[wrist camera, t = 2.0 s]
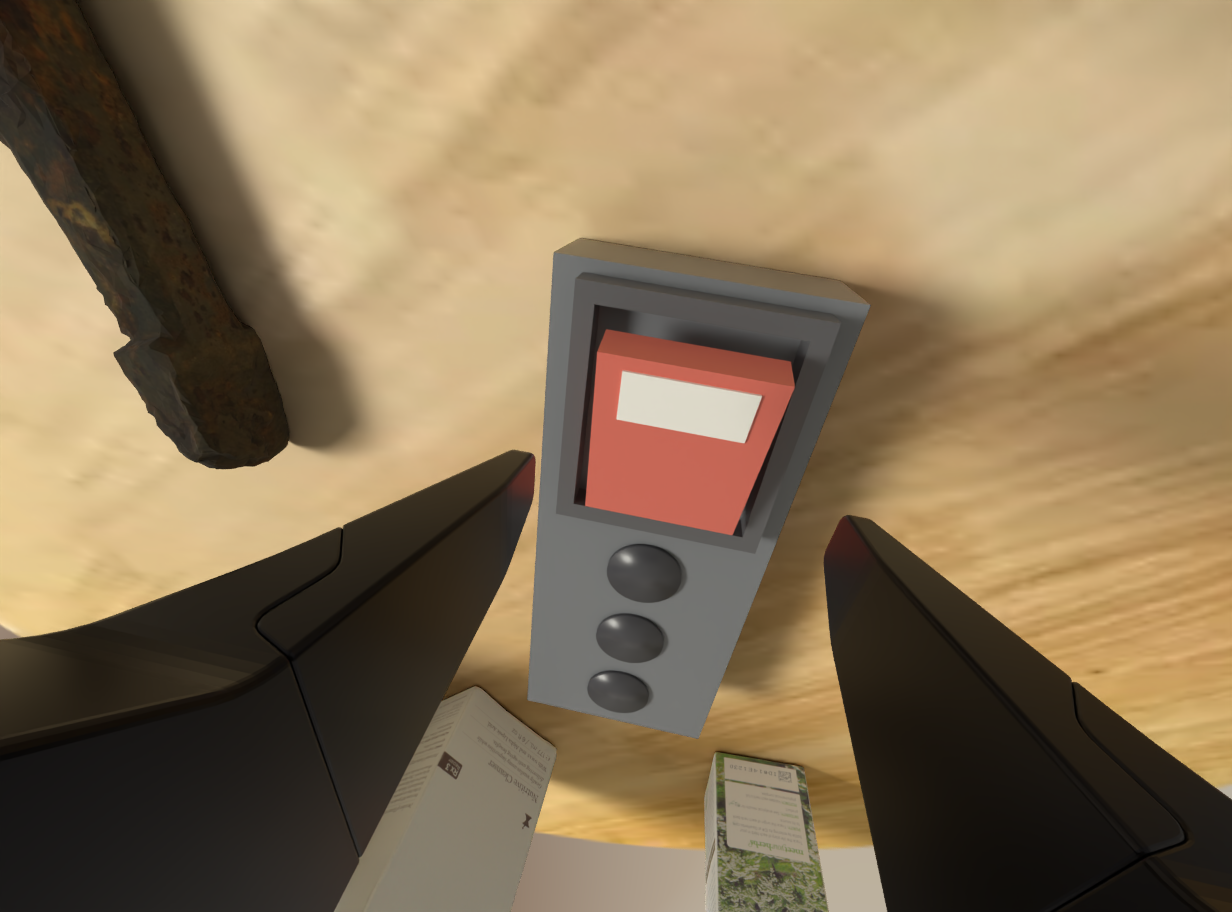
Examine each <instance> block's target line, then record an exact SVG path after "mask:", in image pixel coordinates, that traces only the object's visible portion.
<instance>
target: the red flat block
mask: <svg viewBox="0 0 1232 912" xmlns="http://www.w3.org/2000/svg"><path fill="white" fill-rule="evenodd" d="M794 388H795V384H794V378H793V372H792V366H791V362H790V361H785V360H779V359H773V358H767V357H762V356H756V355H750V354H745V353H739V352H733V351H728V350H722V349H716V348H711V347H705V346H699V345H693V344H688V343H682V342H676V341H671V340H665V339H659V338H654V337H648V336H642V335H636V334H631V333H625V332H619V331H614V330H608V329H606V331H605V334H604V336H603V339H602V341H601V344H600V346H599V349H598V351H597V362H596V374H595V387H594V400H593V413H592V425H591V438H590V451H589V464H588V476H587V489H586V502H585V506H588V507H593V508H598V509H603V510H608V511H613V512H618V513H623V514H628V515H633V516H638V517H643V518H648V519H653V520H658V521H663V522H668V523H673V524H678V525H683V526H688V527H693V528H698V529H703V530H708V531H713V532H718V533H723V534H728V535H733V533H734V530H735V528H736V526H737V523H738V521H739V518H740V516H741V514H742V511H743V509H744V507H745V504H746V502H747V500H748V497H749V495H750V492H751V490H752V488H753V485H754V483H755V481H756V478H757V476H758V473H759V471H760V469H761V466H762V464H763V462H764V459H765V457H766V455H767V452H768V450H769V447H770V445H771V443H772V440H773V438H774V436H775V433H776V431H777V428H778V426H779V424H780V421H781V419H782V417H783V414H784V412H785V410H786V407H787V405H788V402H789V400H790V398H791V395H792V393H793V391H794Z"/></svg>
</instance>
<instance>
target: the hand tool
mask: <svg viewBox="0 0 1232 912" xmlns="http://www.w3.org/2000/svg"><path fill="white" fill-rule="evenodd" d="M0 141H1V142H2V143H3V144H5V145H6V146H7V147H8V148H9V149H11V151H12V153H13V155H14V156H15V158H16V160H17V162H18V163H19V165H20V167H21V169H22V170H23V171H24V172H25V174H26V175H27V176H28V177H29V179H30V180H31V182H32V184H33V185H34V187H35V189H36V190H37V192H38V194H39V195H40V197H41V199H42V200H43V202H44V204H45V205H46V207H47V208H48V209H49V211H50V212H51V213H52V215H53V216H54V218H55V219H56V220H57V222H58V224H59V226H60V227H61V229H62V230H63V232H64V233H65V235H66V236H67V238H68V240H69V242H70V244H71V245H72V247H73V249H74V250H75V252H76V253H77V255H78V257H79V258H80V260H81V262H82V263H83V265H84V266H85V268H86V270H87V271H88V273H89V274H90V276H91V277H92V279H93V281H94V282H95V284H96V285H97V290H98V291H99V292H100V293H101V294H102V295H103V297H104V302H105V305H107V306H108V307H109V309H110V310H111V311H112V313H113V314H114V315H115V317H116V318H117V321H118V324H119V328H120V331H121V333H123V334H125V335H127V336H128V337H130V339H131V340H130V341H129V342H128V343H127V344H126V345H125V346H123V347H121V348H120V349H119V350H117V351H115V352H114V357H115V358H116V360H117V362H118V363H119V365H120V367H121V368H122V370H123V372H124V374H125V376H126V377H127V378H128V379H129V381H130V382H131V383H132V384H133V386H134V387H135V388H136V389H137V391H138V393H139V395H140V396H141V398H142V400H143V401H144V402H145V403H146V408H147V411H148V413H150V414H151V415H153V416H154V417H155V419H156V422H157V426H158V427H159V428H160V429H161V430H162V432H163V433H164V434H165V435H166V436H168V437H169V438H170V439H171V440H172V441H173V442H174V443H175V444H176V446H177V448H178V450H179V452H181V453H182V454H183V455H184V456H185V457H186V458H188V459H190V460H192V461H194V462H199V463H201V464H203V465H205V466H207V467H209V468H216V469H234V468H237V467H243V466H257V465H259V464H261V463H264V462H268V461H269V460H271V459H272V458H273V457H274V456H276V455H277V454H278V453H280V452H281V451H282V450H283V449H284V448H286V446H287V445H288V441H289V439H288V436H289V430H288V426H287V421H286V417H285V413H284V410H283V404H282V399H281V395H280V394H279V392H278V390H277V385H276V383H275V381H274V379H273V377H272V373H271V370H270V368H269V364H268V361H267V358H266V355H265V352H264V349H263V346H262V343H261V340H260V338H259V337H258V335H257V334H256V332H255V331H254V329H253V328H251V327H249V326H247V325H245V324H242V323H240V322H239V321H238V319H237V318H236V316H235V315H234V313H233V312H232V310H231V309H230V308H229V306H228V305H227V303H226V301H225V299H224V298H223V296H222V294H221V292H220V290H219V288H218V286H217V284H216V283H215V281H214V278H213V276H212V273H211V271H210V268H209V266H208V263H207V261H206V259H205V257H204V255H203V253H202V251H201V249H200V247H199V245H198V243H197V241H196V239H195V236H194V234H193V231H192V229H191V225H190V222H189V219H188V218H187V216H186V215H185V213H184V212H183V211H182V209H181V208H180V206H179V205H178V203H177V201H176V200H175V198H174V196H173V195H172V193H171V191H170V189H169V187H168V185H167V183H166V181H165V180H164V178H163V176H162V174H161V172H160V170H159V168H158V166H157V164H156V162H155V160H154V158H153V156H152V154H151V152H150V149H149V147H148V145H147V143H146V141H145V139H144V137H143V135H142V133H141V131H140V129H139V126H138V124H137V121H136V119H135V117H134V115H133V113H132V111H131V109H130V107H129V105H128V103H127V101H126V100H125V98H124V96H123V94H122V93H121V91H120V88H119V86H118V83H117V81H116V78H115V76H114V74H113V72H112V70H111V69H110V67H109V65H108V64H107V62H106V60H105V59H104V57H103V56H102V54H101V52H100V50H99V48H98V46H97V44H96V41H95V39H94V37H93V35H92V33H91V30H90V28H89V26H88V25H87V23H86V21H85V19H84V17H83V15H82V12H81V10H80V8H79V7H78V5H77V3H76V1H75V0H0Z"/></svg>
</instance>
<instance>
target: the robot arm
mask: <svg viewBox="0 0 1232 912" xmlns="http://www.w3.org/2000/svg"><path fill="white" fill-rule="evenodd" d="M534 482H535V456H534V455H533V454H532V453H528V452H523V451H518V450H510V451H508V452H505V453H503V454H501V455H499V456H497V457H494V458H492V459H490V460H488V461H485V462H483V463H481V464H479V465H476V466H474V467H472V468H470V469H468V470H465V471H463V472H461V473H459V474H456V475H454V476H452V477H450V478H448V479H445V480H443V481H441V482H439V483H436V484H434V485H432V486H430V487H427V488H425V489H423V490H421V491H419V492H416V493H414V494H412V495H410V496H407V497H405V498H403V499H401V500H398V501H396V502H394V503H392V504H390V505H387V506H385V507H383V508H381V509H378V510H376V511H374V512H372V513H369V514H367V515H365V516H363V517H360V518H358V519H356V520H354V521H352V522H349V523H347V524H345V525H344V526H343V529H342V528H340V527H338V528H336V529H333V530H331V531H329V532H327V533H325V534H322V535H320V536H318V537H316V538H313V539H311V540H309V541H306V542H304V543H302V544H299V545H297V546H295V547H292V548H290V549H288V550H285V551H283V552H280V553H278V554H276V555H273V556H271V557H268V558H265V559H263V560H260V561H258V562H255V563H253V564H250V565H247V566H245V567H242V568H240V569H237V570H234V571H232V572H229V573H226V574H224V575H221V576H218V577H216V578H213V579H210V580H208V581H205V582H202V583H200V584H197V585H194V586H191V587H189V588H186V589H183V590H181V591H178V592H175V593H173V594H170V595H167V596H165V597H162V598H159V599H156V600H154V601H151V602H148V603H146V604H143V605H140V606H138V607H135V608H132V609H130V610H127V611H124V612H121V613H119V614H116V615H113V616H111V617H108V618H105V619H102V620H99V621H96V622H93V623H90V624H87V625H83V626H79V627H75V628H71V629H68V630H63V631H58V632H53V633H48V634H43V635H37V636H29V637H21V638H14V639H1V640H0V912H334V911H335V909H336V907H337V905H338V903H339V901H340V899H341V897H342V895H343V893H344V891H345V889H346V887H347V885H348V883H349V881H350V879H351V877H352V875H353V873H354V871H355V870H356V868H357V866H358V864H359V857H361V856H362V855H363V853H364V851H365V849H366V847H367V845H368V843H369V842H370V840H371V838H372V836H373V834H374V832H375V830H376V828H377V826H378V824H379V822H380V820H381V818H382V816H383V814H384V812H385V810H386V808H387V806H388V804H389V802H390V800H391V799H392V797H393V795H394V793H395V791H396V789H397V787H398V785H399V783H400V781H401V779H402V777H403V775H404V773H405V771H406V769H407V767H408V765H409V763H410V761H411V759H412V757H413V755H414V754H415V752H416V750H417V748H418V746H419V744H420V742H421V740H422V738H423V736H424V734H425V732H426V730H427V728H428V726H429V724H430V722H431V720H432V718H433V716H434V714H435V712H436V711H437V709H438V707H439V705H440V703H441V701H442V699H443V697H444V695H445V693H446V691H447V689H448V687H449V685H450V683H451V681H452V679H453V677H454V675H455V673H456V671H457V669H458V668H459V666H460V664H461V662H462V660H463V658H464V656H465V654H466V652H467V650H468V648H469V646H470V644H471V642H472V640H473V638H474V636H475V634H476V632H477V630H478V628H479V626H480V624H481V623H482V621H483V619H484V617H485V615H486V613H487V611H488V609H489V607H490V605H491V603H492V601H493V599H494V597H495V595H496V593H497V591H498V589H499V587H500V585H501V583H502V581H503V579H504V577H505V575H506V572H507V570H508V567H509V565H510V562H511V559H512V557H513V554H514V551H515V548H516V546H517V543H518V540H519V537H520V534H521V532H522V529H523V526H524V523H525V521H526V518H527V515H528V512H529V510H530V507H531V504H532V500H533V495H534ZM824 573H825V585H826V596H827V608H828V619H829V630H830V639H831V646H832V651H833V657H834V661H835V666H836V671H837V675H838V680H839V685H840V690H841V694H842V699H843V704H844V709H845V713H846V718H847V723H848V728H849V732H850V737H851V742H852V746H853V751H854V756H855V761H856V765H857V770H858V775H859V780H860V784H861V789H862V794H863V799H864V803H865V808H866V813H867V817H868V822H869V827H870V832H871V836H872V841H873V846H874V851H875V855H876V860H877V865H878V869H879V874H880V879H881V883H882V888H883V893H884V898H885V903H886V907H887V912H1232V799H1230V798H1229V797H1228V796H1226V795H1225V794H1223V793H1222V792H1221V791H1219V790H1218V789H1217V788H1215V787H1214V786H1213V785H1211V784H1210V783H1208V782H1207V781H1206V780H1204V779H1203V778H1202V777H1200V776H1199V775H1198V774H1196V773H1195V772H1194V771H1192V770H1191V769H1189V768H1188V767H1187V766H1185V765H1184V764H1183V763H1181V762H1180V761H1179V760H1177V759H1176V758H1175V757H1173V756H1172V755H1170V754H1169V753H1168V752H1166V751H1165V750H1164V749H1162V748H1161V747H1160V746H1158V745H1157V744H1156V743H1154V742H1153V741H1152V740H1150V739H1149V738H1148V737H1147V736H1145V735H1144V734H1143V733H1141V732H1140V731H1139V730H1137V729H1136V728H1135V727H1134V726H1132V725H1131V724H1130V723H1128V722H1127V721H1126V720H1124V719H1123V718H1122V717H1121V716H1119V715H1118V714H1117V713H1115V712H1114V711H1113V710H1111V709H1110V708H1109V707H1108V706H1106V705H1105V704H1104V703H1103V702H1101V701H1100V700H1099V699H1097V698H1096V697H1095V696H1094V695H1092V694H1091V693H1090V692H1089V691H1087V690H1086V689H1085V688H1084V687H1082V686H1081V685H1080V684H1079V683H1077V682H1072V680H1071V678H1070V677H1069V676H1068V675H1067V674H1066V673H1064V672H1063V671H1062V670H1061V669H1059V668H1058V667H1057V666H1056V665H1054V664H1053V663H1052V662H1050V661H1049V660H1048V659H1047V658H1045V657H1044V656H1043V655H1042V654H1040V653H1039V652H1038V651H1037V650H1035V649H1034V648H1033V647H1031V646H1030V645H1029V644H1028V643H1026V642H1025V641H1024V640H1023V639H1021V638H1020V637H1019V636H1018V635H1016V634H1015V633H1014V632H1012V631H1011V630H1010V629H1009V628H1007V627H1006V626H1005V625H1004V624H1002V623H1001V622H1000V621H999V620H997V619H996V618H995V617H993V616H992V615H991V614H990V613H988V612H987V611H986V610H985V609H983V608H982V607H981V606H980V605H978V604H977V603H976V602H974V601H973V600H972V599H971V598H969V597H968V596H967V595H966V594H964V593H963V592H962V591H961V590H959V589H958V588H957V587H956V586H954V585H953V584H952V583H950V582H949V581H948V580H947V579H945V578H944V577H943V576H942V575H940V574H939V573H938V572H937V571H935V570H934V569H933V568H931V567H930V566H929V565H928V564H926V563H925V562H924V561H923V560H921V559H920V558H919V557H918V556H916V555H915V554H914V553H912V552H911V551H910V550H909V549H907V548H906V547H905V546H904V545H902V544H901V543H900V542H899V541H897V540H896V539H895V538H894V537H892V536H891V535H890V534H888V533H887V532H886V531H885V530H883V529H882V528H881V527H880V526H878V525H877V524H876V523H875V522H873V521H872V520H870V519H867V518H862V517H857V516H852V515H846V516H844V517H843V518H842V519H841V520H840V522H839V524H838V526H837V528H836V530H835V532H834V534H833V536H832V538H831V540H830V543H829V545H828V547H827V549H826V551H825V555H824Z"/></svg>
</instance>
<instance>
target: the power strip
mask: <svg viewBox="0 0 1232 912" xmlns="http://www.w3.org/2000/svg"><path fill="white" fill-rule="evenodd" d="M870 306H871V305H870V304H869V303H868V302H866V301H865V300H864V299H863V298H861V297H860V296H859V295H858V294H856V293H855V292H854V291H853V290H851V289H850V288H849V287H848V286H846V285H845V284H844V283H843V282H841V281H840V280H834V279H828V278H822V277H815V276H809V275H803V274H797V273H791V272H785V271H779V270H773V269H767V268H761V267H754V266H748V265H742V264H736V263H730V262H724V261H718V260H712V259H706V258H700V257H693V256H687V255H681V254H675V253H669V252H663V251H657V250H651V249H645V248H639V247H633V246H626V245H620V244H614V243H608V242H602V241H596V240H590V239H584V238H579V239H577V240H575V241H573V242H571V243H570V244H568V245H566V246H564V247H562V248H561V249H559V250H557V251H555V252H554V255H553V272H552V289H551V306H550V323H549V340H548V357H547V374H546V391H545V408H544V425H543V442H542V459H541V476H540V493H539V510H538V527H537V544H536V561H535V578H534V595H533V612H532V629H531V646H530V663H529V680H528V697H527V700H529V701H534V702H538V703H542V704H547V705H551V706H556V707H560V708H564V709H569V710H573V711H578V712H582V713H586V714H591V715H595V716H600V717H604V718H608V719H613V720H617V721H622V722H626V723H630V724H635V725H639V726H644V727H648V728H652V729H657V730H661V731H666V732H670V733H674V734H679V735H683V736H687V737H692V738H696V739H698V738H699V736H700V733H701V731H702V728H703V726H704V723H705V721H706V718H707V716H708V713H709V711H710V708H711V706H712V703H713V701H714V698H715V696H716V693H717V690H718V688H719V685H720V683H721V680H722V678H723V675H724V673H725V670H726V668H727V665H728V663H729V660H730V658H731V655H732V653H733V650H734V648H735V645H736V643H737V640H738V638H739V635H740V633H741V630H742V628H743V625H744V623H745V620H746V618H747V615H748V613H749V610H750V608H751V605H752V603H753V600H754V597H755V595H756V592H757V590H758V587H759V585H760V582H761V580H762V577H763V575H764V572H765V570H766V567H767V565H768V562H769V560H770V557H771V555H772V552H773V550H774V547H775V545H776V542H777V540H778V537H779V535H780V532H781V530H782V527H783V525H784V522H785V520H786V517H787V515H788V512H789V510H790V507H791V504H792V502H793V499H794V497H795V494H796V492H797V489H798V487H799V484H800V482H801V479H802V477H803V474H804V472H805V469H806V467H807V464H808V462H809V459H810V457H811V454H812V452H813V449H814V447H815V444H816V442H817V439H818V437H819V434H820V432H821V429H822V427H823V424H824V422H825V419H826V417H827V414H828V411H829V409H830V406H831V404H832V401H833V399H834V396H835V394H836V391H837V389H838V386H839V384H840V381H841V379H842V376H843V374H844V371H845V369H846V366H847V364H848V361H849V359H850V356H851V354H852V351H853V349H854V346H855V344H856V341H857V339H858V336H859V334H860V331H861V329H862V326H863V324H864V321H865V318H866V316H867V313H868V311H869V308H870ZM606 329H608V330H614V331H619V332H625V333H631V334H636V335H642V336H648V337H654V338H659V339H665V340H671V341H676V342H682V343H688V344H693V345H699V346H705V347H711V348H716V349H722V350H728V351H733V352H739V353H745V354H750V355H756V356H762V357H767V358H773V359H779V360H785V361H790V362H791V366H792V372H793V378H794V384H795V388H794V391H793V393H792V395H791V398H790V400H789V402H788V405H787V407H786V410H785V412H784V414H783V417H782V419H781V421H780V424H779V426H778V428H777V431H776V433H775V436H774V438H773V440H772V443H771V445H770V447H769V450H768V452H767V455H766V457H765V459H764V462H763V464H762V466H761V469H760V471H759V473H758V476H757V478H756V481H755V483H754V485H753V488H752V490H751V492H750V495H749V497H748V500H747V502H746V504H745V507H744V509H743V511H742V514H741V516H740V518H739V521H738V523H737V526H736V528H735V530H734V533H733V535H728V534H723V533H718V532H713V531H708V530H703V529H698V528H693V527H688V526H683V525H678V524H673V523H668V522H663V521H658V520H653V519H648V518H643V517H638V516H633V515H628V514H623V513H618V512H613V511H608V510H603V509H598V508H593V507H588V506H585V502H586V489H587V476H588V464H589V451H590V438H591V425H592V413H593V400H594V387H595V374H596V362H597V351H598V349H599V346H600V344H601V341H602V339H603V336H604V334H605V331H606Z"/></svg>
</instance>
